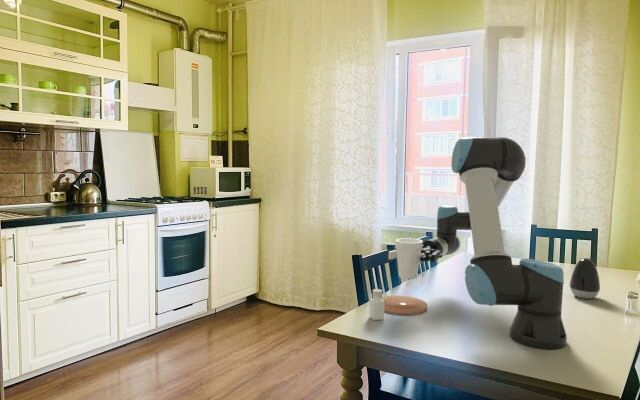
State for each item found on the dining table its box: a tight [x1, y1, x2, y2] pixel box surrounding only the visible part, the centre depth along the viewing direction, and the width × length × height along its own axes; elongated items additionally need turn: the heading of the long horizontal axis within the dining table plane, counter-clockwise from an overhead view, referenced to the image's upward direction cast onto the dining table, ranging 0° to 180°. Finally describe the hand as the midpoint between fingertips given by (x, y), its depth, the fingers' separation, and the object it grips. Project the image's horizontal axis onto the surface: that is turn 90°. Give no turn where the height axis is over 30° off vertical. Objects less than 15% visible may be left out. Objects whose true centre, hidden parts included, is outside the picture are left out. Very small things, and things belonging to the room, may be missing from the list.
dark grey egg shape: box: [569, 258, 601, 300], centre depth 180 cm, size 10×10×15 cm
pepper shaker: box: [369, 288, 385, 321], centre depth 153 cm, size 4×4×10 cm
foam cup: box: [394, 237, 424, 280], centre depth 165 cm, size 10×9×13 cm
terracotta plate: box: [382, 295, 428, 316], centre depth 166 cm, size 18×18×1 cm
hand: (401, 257), depth 161 cm, fingers closed on foam cup, 9 cm apart
